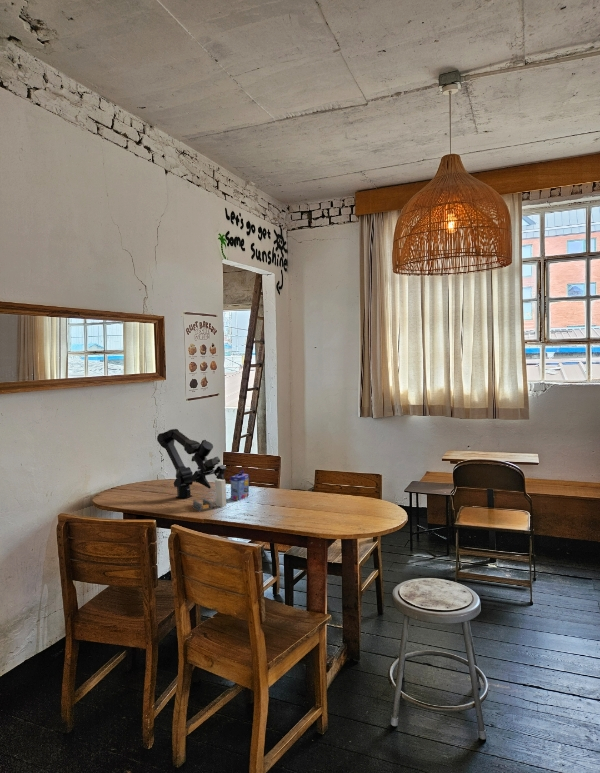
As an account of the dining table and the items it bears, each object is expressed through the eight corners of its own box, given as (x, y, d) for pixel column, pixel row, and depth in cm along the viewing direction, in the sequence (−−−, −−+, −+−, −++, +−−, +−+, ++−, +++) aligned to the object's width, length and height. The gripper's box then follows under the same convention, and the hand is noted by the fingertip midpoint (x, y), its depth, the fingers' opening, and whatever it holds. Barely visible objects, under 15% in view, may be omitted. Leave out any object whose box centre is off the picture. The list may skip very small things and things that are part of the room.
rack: (192, 507, 260) (192, 500, 260) (205, 504, 264) (205, 498, 264) (199, 511, 252) (198, 504, 252) (212, 508, 256) (212, 502, 256)
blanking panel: (215, 505, 262) (214, 479, 261) (219, 504, 264) (218, 478, 263) (222, 507, 258) (221, 481, 258) (226, 506, 260) (225, 480, 260)
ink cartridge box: (239, 501, 269) (238, 473, 269) (230, 500, 272) (229, 472, 271) (249, 496, 278) (248, 469, 277) (241, 495, 281) (240, 468, 280)
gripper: (194, 454, 258) (209, 479, 251) (223, 449, 272) (238, 472, 265) (185, 469, 264) (199, 493, 257) (214, 463, 278) (228, 486, 271)
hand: (217, 486), depth 262 cm, fingers open, 9 cm apart
